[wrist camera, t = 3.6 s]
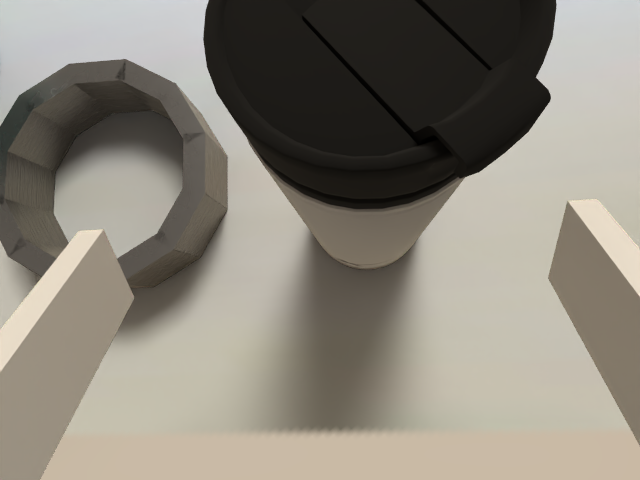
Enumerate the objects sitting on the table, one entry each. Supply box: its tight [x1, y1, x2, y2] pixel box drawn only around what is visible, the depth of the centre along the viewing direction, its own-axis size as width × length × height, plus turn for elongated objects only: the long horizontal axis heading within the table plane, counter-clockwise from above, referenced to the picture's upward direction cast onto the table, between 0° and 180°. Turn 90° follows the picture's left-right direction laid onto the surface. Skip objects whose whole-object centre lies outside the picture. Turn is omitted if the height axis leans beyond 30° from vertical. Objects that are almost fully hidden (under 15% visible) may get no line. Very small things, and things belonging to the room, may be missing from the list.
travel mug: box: [203, 0, 556, 269], centre depth 17 cm, size 6×7×20 cm
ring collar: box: [0, 59, 227, 288], centre depth 27 cm, size 12×12×4 cm
